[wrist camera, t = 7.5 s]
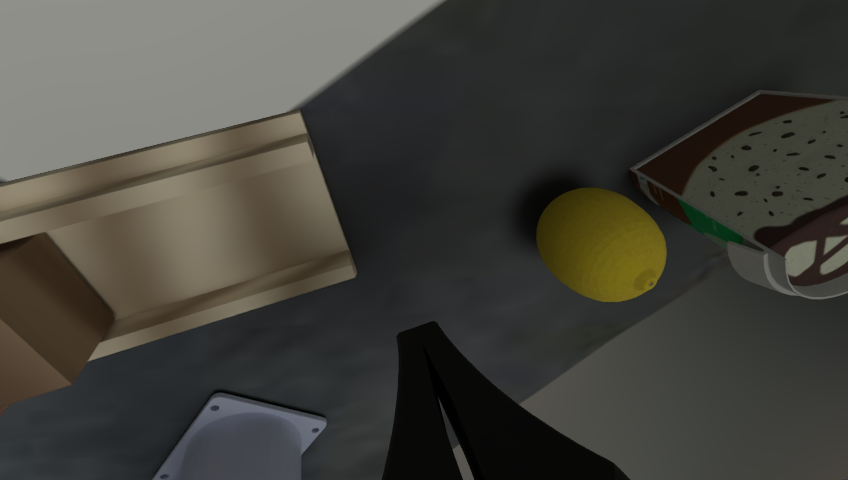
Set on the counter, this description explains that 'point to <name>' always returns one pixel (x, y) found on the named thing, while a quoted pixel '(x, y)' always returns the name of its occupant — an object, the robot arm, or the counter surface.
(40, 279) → the block
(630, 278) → the lemon
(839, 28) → the counter surface
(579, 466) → the robot arm
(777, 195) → the food container
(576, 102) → the counter surface
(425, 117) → the counter surface
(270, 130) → the track
